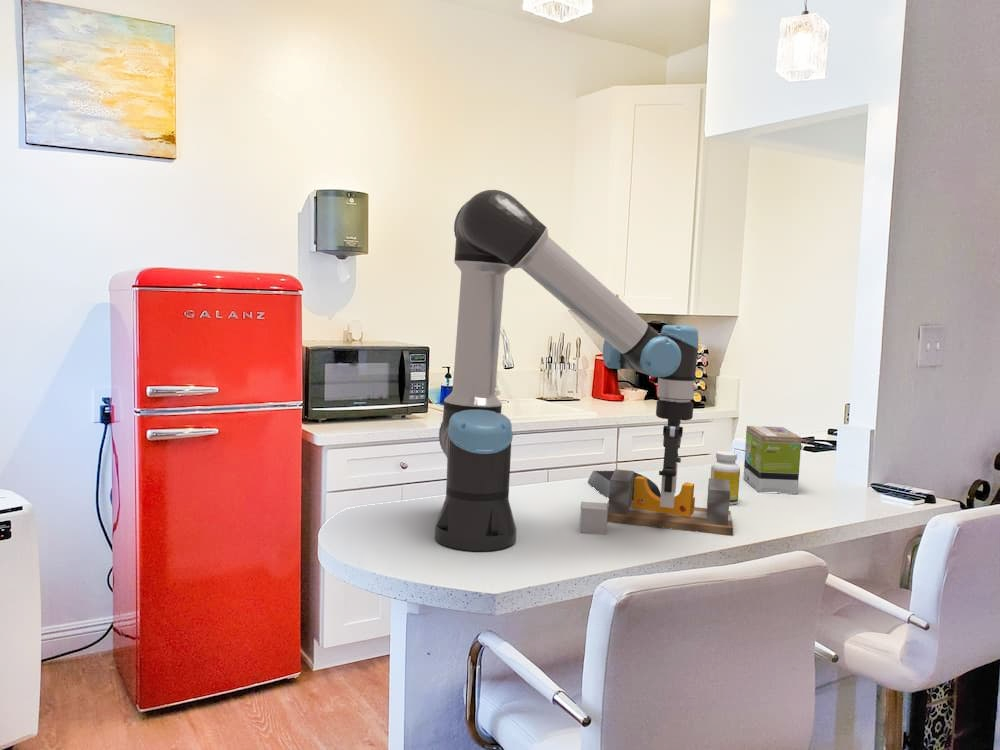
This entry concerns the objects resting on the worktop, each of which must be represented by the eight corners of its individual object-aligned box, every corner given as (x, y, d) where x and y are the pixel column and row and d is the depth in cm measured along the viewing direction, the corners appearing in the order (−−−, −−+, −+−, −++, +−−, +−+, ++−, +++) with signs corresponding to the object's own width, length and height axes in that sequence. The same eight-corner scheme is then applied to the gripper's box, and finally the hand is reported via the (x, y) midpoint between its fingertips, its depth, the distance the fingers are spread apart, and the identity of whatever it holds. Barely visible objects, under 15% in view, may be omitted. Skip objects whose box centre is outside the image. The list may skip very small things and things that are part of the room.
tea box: (741, 479, 211) (745, 424, 210) (779, 481, 211) (784, 426, 210) (757, 493, 196) (762, 434, 195) (798, 495, 196) (803, 436, 195)
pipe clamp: (694, 512, 168) (696, 482, 167) (689, 517, 164) (691, 486, 163) (638, 503, 173) (640, 474, 172) (632, 508, 169) (634, 478, 168)
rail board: (602, 521, 164) (604, 480, 163) (609, 504, 178) (611, 467, 177) (732, 535, 158) (735, 493, 157) (729, 517, 172) (732, 479, 171)
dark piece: (612, 504, 180) (613, 487, 180) (584, 484, 199) (585, 468, 199) (665, 503, 183) (666, 486, 183) (633, 484, 202) (634, 468, 202)
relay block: (580, 533, 155) (581, 508, 155) (579, 525, 160) (581, 501, 160) (606, 534, 155) (607, 509, 155) (604, 527, 160) (606, 503, 159)
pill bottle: (739, 506, 182) (743, 456, 181) (710, 504, 183) (713, 454, 182) (735, 499, 188) (739, 451, 187) (707, 497, 189) (711, 449, 188)
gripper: (693, 408, 152) (685, 516, 154) (694, 394, 177) (687, 488, 179) (653, 404, 154) (646, 511, 156) (659, 392, 178) (653, 484, 180)
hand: (667, 499), depth 167 cm, fingers open, 13 cm apart
